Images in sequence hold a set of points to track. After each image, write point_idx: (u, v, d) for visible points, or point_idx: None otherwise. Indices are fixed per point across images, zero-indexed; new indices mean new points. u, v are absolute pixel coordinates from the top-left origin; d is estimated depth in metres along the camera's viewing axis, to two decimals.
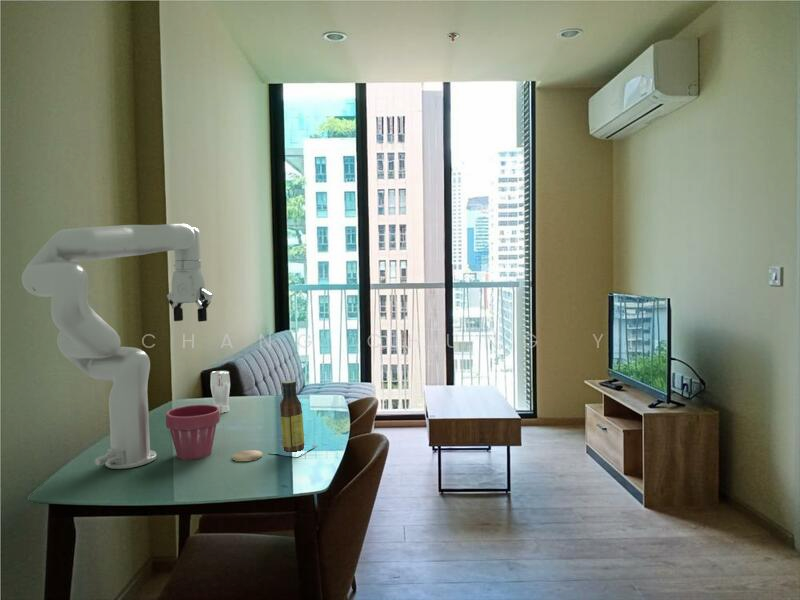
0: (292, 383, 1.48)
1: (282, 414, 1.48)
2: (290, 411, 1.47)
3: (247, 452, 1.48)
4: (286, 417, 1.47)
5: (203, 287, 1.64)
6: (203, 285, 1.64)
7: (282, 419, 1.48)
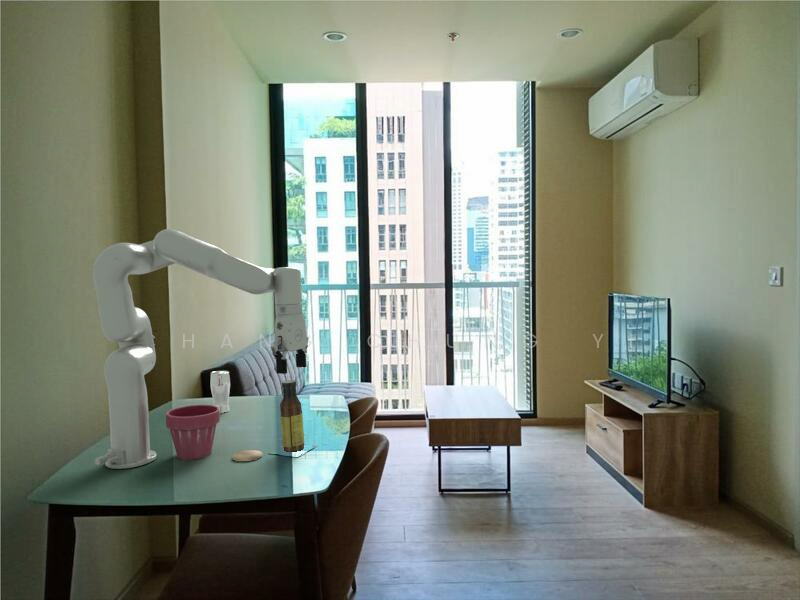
0: (292, 383, 1.48)
1: (282, 414, 1.48)
2: (290, 411, 1.47)
3: (247, 452, 1.48)
4: (286, 417, 1.47)
5: None
6: None
7: (282, 419, 1.48)
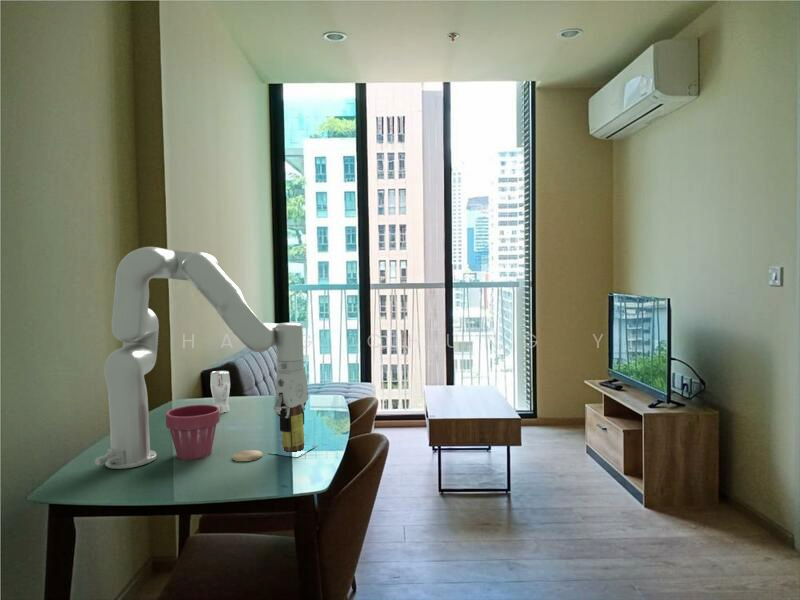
0: None
1: None
2: (291, 410, 1.47)
3: (247, 452, 1.48)
4: None
5: None
6: None
7: None
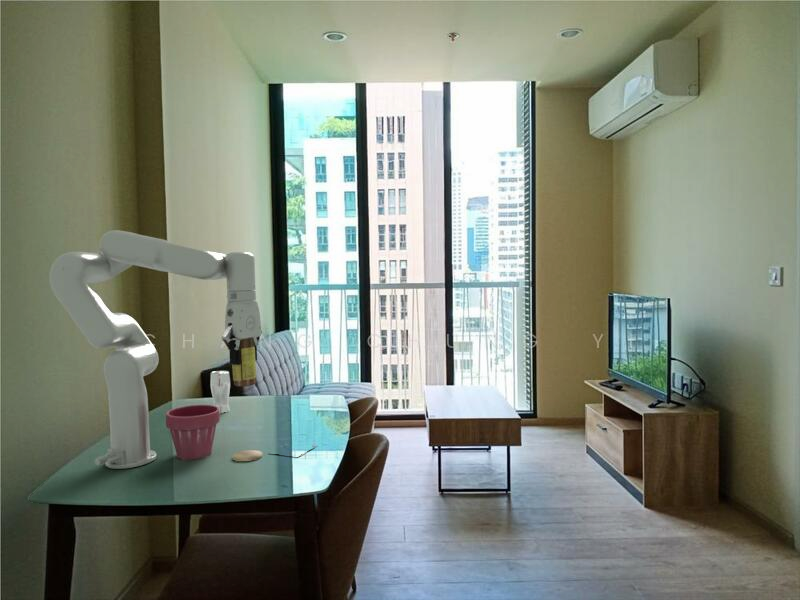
0: None
1: None
2: (241, 342, 1.41)
3: (247, 452, 1.48)
4: None
5: None
6: None
7: None
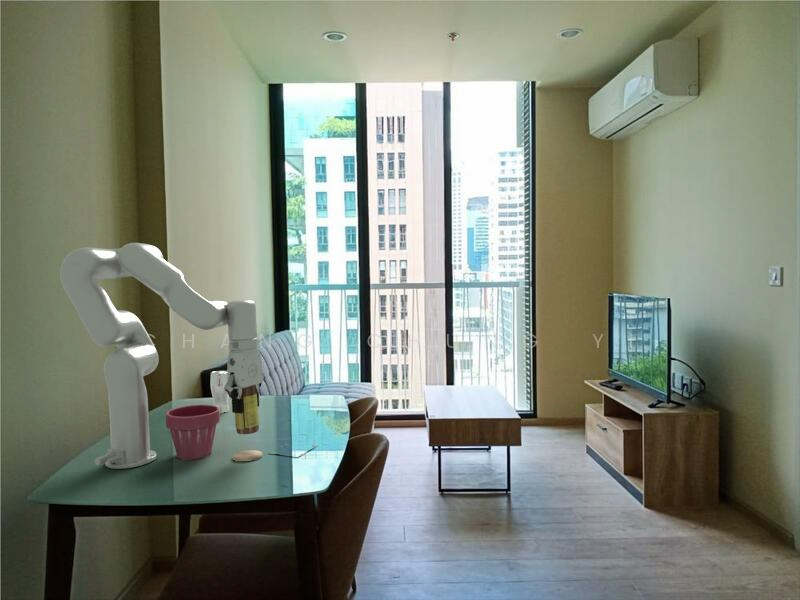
0: None
1: None
2: (243, 391, 1.42)
3: (247, 452, 1.48)
4: None
5: None
6: None
7: None
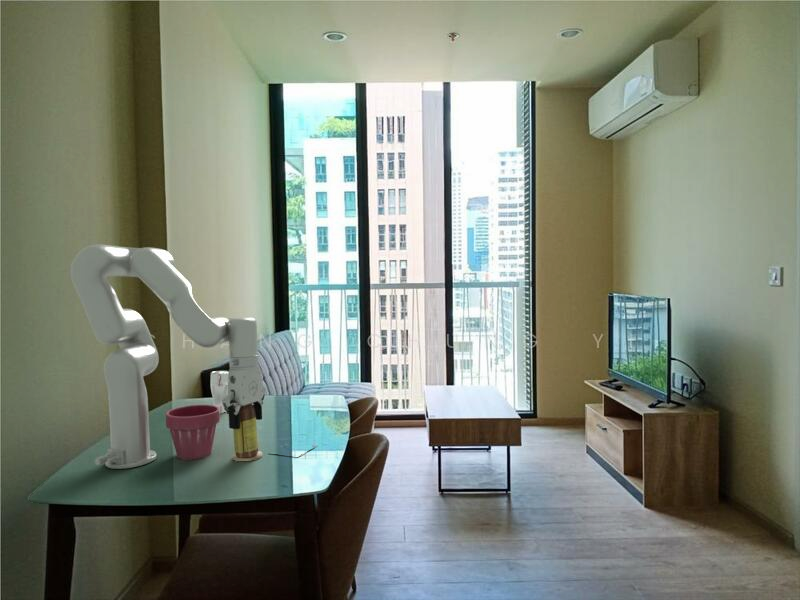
0: None
1: None
2: (242, 415, 1.42)
3: None
4: None
5: None
6: None
7: None
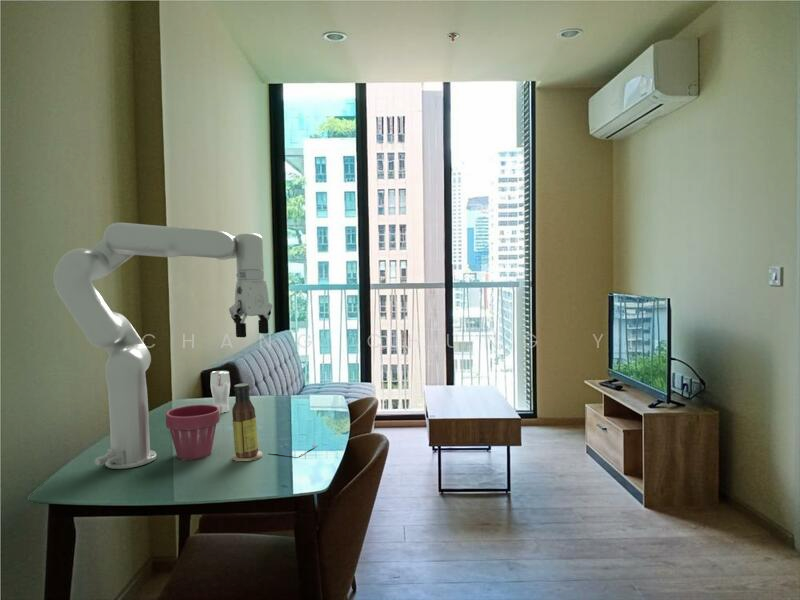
0: (244, 386, 1.43)
1: (234, 419, 1.43)
2: (242, 415, 1.42)
3: None
4: (238, 421, 1.42)
5: None
6: None
7: (234, 424, 1.43)
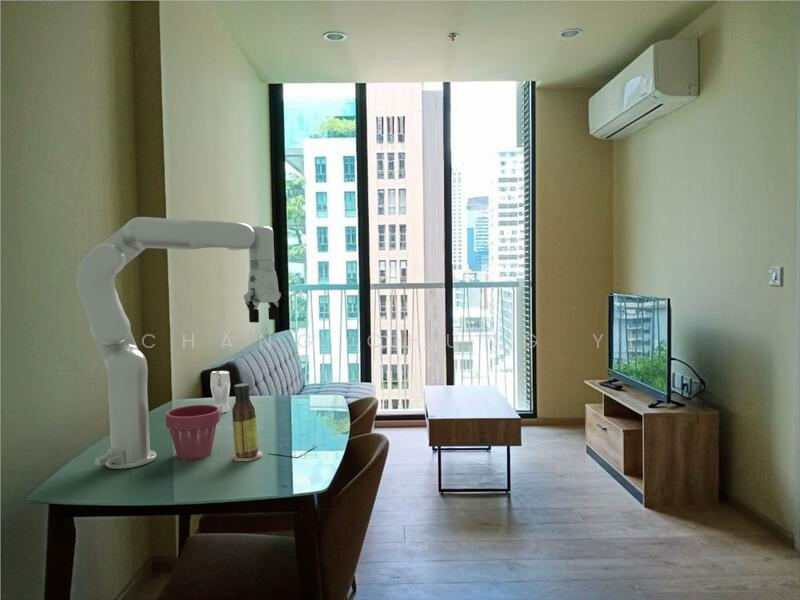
0: (244, 386, 1.43)
1: (234, 419, 1.43)
2: (242, 415, 1.42)
3: None
4: (238, 421, 1.42)
5: None
6: None
7: (234, 424, 1.43)
